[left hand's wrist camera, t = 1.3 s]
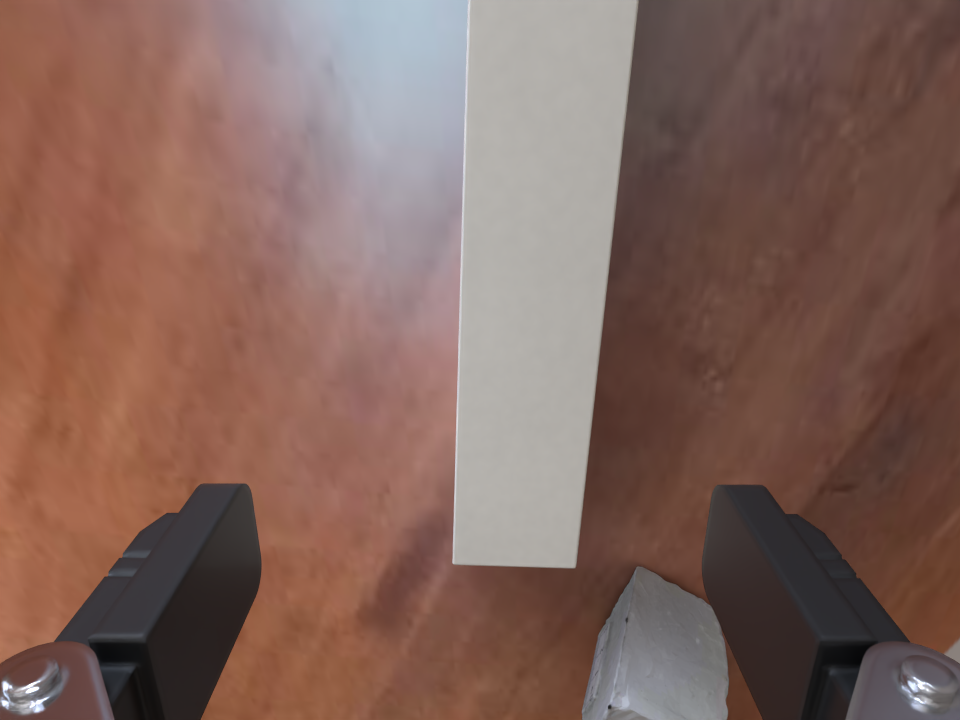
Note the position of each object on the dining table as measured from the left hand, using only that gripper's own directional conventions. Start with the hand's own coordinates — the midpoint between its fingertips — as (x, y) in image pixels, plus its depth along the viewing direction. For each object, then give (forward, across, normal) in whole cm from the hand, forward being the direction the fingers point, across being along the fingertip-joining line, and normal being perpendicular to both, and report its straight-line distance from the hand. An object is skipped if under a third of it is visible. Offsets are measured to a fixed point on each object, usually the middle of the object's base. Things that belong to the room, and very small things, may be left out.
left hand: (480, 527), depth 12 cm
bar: (+19, -2, -16) cm, 25 cm away
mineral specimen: (+19, -8, +19) cm, 28 cm away
